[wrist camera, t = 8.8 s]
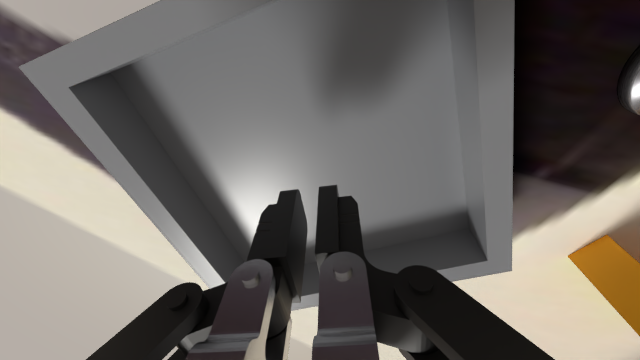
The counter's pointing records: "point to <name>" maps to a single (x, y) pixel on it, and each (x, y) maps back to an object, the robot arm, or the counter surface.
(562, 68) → the counter surface
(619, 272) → the pipe clamp
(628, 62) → the door knob
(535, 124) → the counter surface
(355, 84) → the parts bin
